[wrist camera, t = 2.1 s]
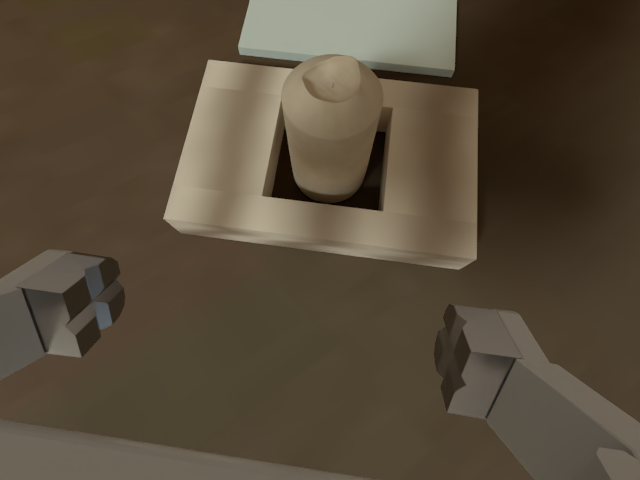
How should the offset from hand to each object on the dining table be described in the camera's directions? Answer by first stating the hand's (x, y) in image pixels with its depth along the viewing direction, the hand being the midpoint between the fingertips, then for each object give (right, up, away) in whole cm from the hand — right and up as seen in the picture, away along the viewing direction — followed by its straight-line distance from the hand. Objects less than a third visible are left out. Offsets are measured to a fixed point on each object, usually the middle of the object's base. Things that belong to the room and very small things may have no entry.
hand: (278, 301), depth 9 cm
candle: (+2, +7, +19) cm, 20 cm away
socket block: (+2, +7, +18) cm, 20 cm away
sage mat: (+4, +22, +23) cm, 32 cm away
